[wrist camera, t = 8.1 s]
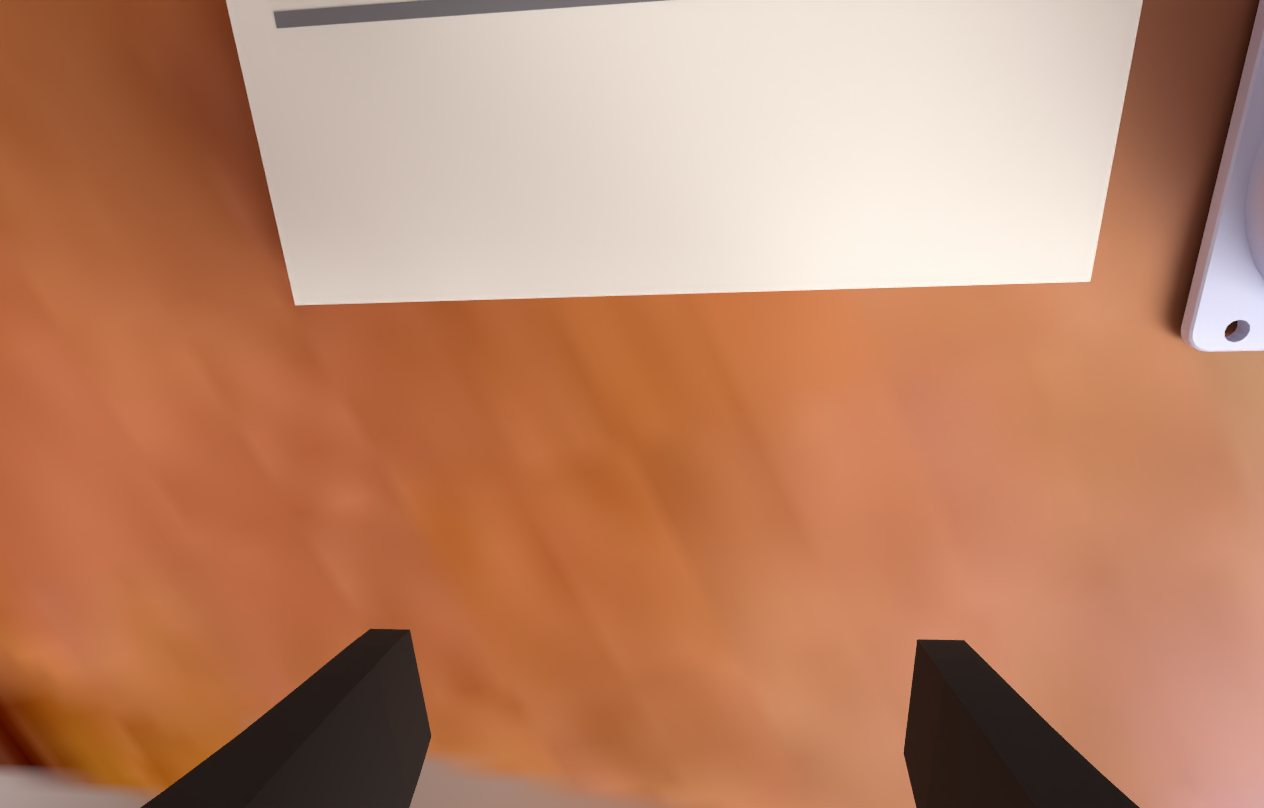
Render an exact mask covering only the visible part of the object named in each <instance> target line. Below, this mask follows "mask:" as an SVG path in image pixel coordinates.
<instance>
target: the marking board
mask: <svg viewBox="0 0 1264 808" xmlns="http://www.w3.org/2000/svg"><path fill="white" fill-rule="evenodd" d="M226 3H227V8H228V12H229V17H230V21H231V25H232V30H233V34H234V39H235V43H236V47H237V52H238V56H239V61H240V65H241V69H242V74H243V78H244V83H245V87H246V91H247V96H248V100H249V105H250V109H251V113H252V118H253V122H254V127H255V131H256V135H257V140H258V144H259V149H260V153H261V157H262V162H263V166H264V171H265V175H266V179H267V184H268V188H269V193H270V197H271V201H272V206H273V210H274V215H275V219H276V223H277V228H278V232H279V236H280V241H281V245H282V250H283V254H284V258H285V263H286V267H287V272H288V276H289V280H290V285H291V289H292V294H293V298H294V302H295V305H322V304H356V303H389V302H423V301H456V300H490V299H523V298H557V297H590V296H624V295H657V294H691V293H725V292H758V291H792V290H825V289H859V288H892V287H926V286H959V285H993V284H1026V283H1060V282H1090V280H1091V275H1092V269H1093V264H1094V259H1095V253H1096V248H1097V243H1098V237H1099V232H1100V227H1101V221H1102V216H1103V211H1104V205H1105V200H1106V195H1107V189H1108V184H1109V179H1110V173H1111V168H1112V163H1113V157H1114V152H1115V147H1116V141H1117V136H1118V131H1119V125H1120V120H1121V115H1122V109H1123V104H1124V99H1125V93H1126V88H1127V83H1128V77H1129V72H1130V67H1131V61H1132V56H1133V51H1134V45H1135V40H1136V35H1137V29H1138V24H1139V19H1140V13H1141V8H1142V3H1143V0H226Z"/></svg>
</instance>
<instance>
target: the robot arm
mask: <svg viewBox="0 0 1264 808" xmlns="http://www.w3.org/2000/svg"><path fill="white" fill-rule="evenodd" d="M1233 321H1237V328H1236V330H1235V332H1233V333H1232V334H1231V335H1229V336H1227V337H1225V330H1226V328H1227V326H1228V325H1229V324H1231V323H1232V322H1233ZM1181 337H1182V339H1183V341H1184V343H1186V344H1187V345H1189V346H1190V347H1192V348H1195V349H1197V350H1200V351H1206V352H1216V351H1264V0H1260V2H1259V6H1258V10H1257V14H1256V18H1255V23H1254V27H1253V31H1252V35H1251V39H1250V43H1249V48H1248V52H1247V56H1246V60H1245V64H1244V68H1243V72H1242V77H1241V81H1240V85H1239V89H1238V93H1237V97H1236V102H1235V106H1234V110H1233V114H1232V118H1231V122H1230V127H1229V131H1228V135H1227V139H1226V143H1225V147H1224V151H1223V156H1222V160H1221V164H1220V168H1219V172H1218V176H1217V181H1216V185H1215V189H1214V193H1213V197H1212V201H1211V206H1210V210H1209V214H1208V218H1207V222H1206V226H1205V230H1204V235H1203V239H1202V243H1201V247H1200V251H1199V255H1198V260H1197V264H1196V268H1195V272H1194V276H1193V280H1192V285H1191V289H1190V293H1189V297H1188V301H1187V305H1186V309H1185V314H1184V318H1183V322H1182V326H1181ZM430 739H431V732H430V727H429V722H428V717H427V712H426V708H425V703H424V698H423V693H422V688H421V683H420V678H419V673H418V668H417V663H416V658H415V653H414V648H413V643H412V638H411V633H410V630H395V629H370V630H368V631H367V632H366V633H364V634H363V635H362V636H360V637H359V638H358V639H357V640H355V641H354V642H353V643H351V644H350V645H349V646H348V647H346V648H345V649H344V650H343V651H341V652H340V653H339V654H338V655H337V656H335V657H334V658H333V659H332V660H330V661H329V662H328V663H327V664H326V665H324V666H323V667H322V668H321V669H319V670H318V671H317V672H316V673H315V674H313V675H312V676H311V677H310V678H309V679H307V680H306V681H305V682H304V683H302V684H301V685H300V686H299V687H298V688H296V689H295V690H294V691H293V692H291V693H290V694H289V695H288V696H286V697H285V698H284V699H283V700H282V701H280V702H279V703H278V704H277V705H275V706H274V707H273V708H272V709H270V710H269V711H268V712H267V713H265V714H264V715H263V716H262V717H260V718H259V719H258V720H257V721H255V722H254V723H253V724H252V725H250V726H249V727H248V728H247V729H246V730H244V731H243V732H242V733H240V734H239V735H238V736H237V737H235V738H234V739H233V740H231V741H230V742H229V743H227V744H226V745H225V746H223V747H222V748H221V749H219V750H218V751H217V752H215V753H214V754H213V755H211V756H210V757H209V758H207V759H206V760H205V761H203V762H202V763H201V764H199V765H198V766H197V767H195V768H194V769H193V770H191V771H190V772H189V773H187V774H186V775H185V776H183V777H182V778H181V779H179V780H178V781H177V782H175V783H174V784H173V785H171V786H170V787H169V788H167V789H166V790H165V791H163V792H162V793H161V794H159V795H158V796H156V797H155V798H153V799H152V800H151V801H149V802H148V803H146V804H145V805H144V806H142V807H141V808H409V807H410V803H411V800H412V797H413V794H414V791H415V788H416V785H417V782H418V779H419V776H420V773H421V769H422V766H423V762H424V759H425V756H426V752H427V749H428V746H429V742H430ZM904 756H905V760H906V765H907V769H908V773H909V778H910V782H911V786H912V791H913V795H914V799H915V803H916V807H917V808H1139V807H1138V806H1137V805H1136V804H1135V803H1134V802H1132V801H1131V800H1130V799H1129V798H1128V797H1127V796H1126V795H1125V794H1123V793H1122V792H1121V791H1120V790H1119V789H1118V788H1117V787H1116V786H1115V785H1113V784H1112V783H1111V782H1110V781H1109V780H1108V779H1107V778H1106V777H1104V776H1103V775H1102V774H1101V773H1100V772H1099V771H1098V770H1097V769H1096V768H1095V767H1094V766H1093V765H1092V764H1091V763H1089V762H1088V761H1087V760H1086V759H1085V758H1084V757H1083V756H1082V755H1081V754H1080V753H1079V752H1078V751H1077V750H1075V749H1074V748H1073V747H1072V746H1071V745H1070V744H1069V743H1068V742H1067V741H1066V740H1065V739H1064V738H1063V737H1062V736H1061V735H1060V734H1059V733H1058V732H1056V731H1055V730H1054V729H1053V728H1052V727H1051V726H1050V725H1049V724H1048V723H1047V722H1046V721H1045V720H1044V719H1043V718H1042V717H1041V716H1040V715H1039V714H1038V713H1037V712H1036V711H1035V710H1034V709H1033V708H1032V707H1031V706H1030V705H1029V704H1028V703H1027V702H1026V701H1025V700H1024V699H1023V698H1022V697H1021V696H1020V695H1019V694H1018V693H1017V692H1016V691H1015V690H1014V689H1013V688H1012V687H1011V686H1010V685H1009V684H1008V683H1007V682H1006V681H1005V680H1004V679H1003V678H1002V677H1001V676H1000V675H999V674H998V673H997V672H996V671H995V670H993V669H992V668H991V667H990V666H989V665H988V664H987V663H986V662H985V661H984V660H983V659H982V658H981V657H980V656H979V655H978V654H977V653H976V652H975V651H974V650H973V649H972V648H971V647H970V646H969V645H968V644H967V643H966V642H965V641H964V640H917V647H916V655H915V664H914V672H913V680H912V688H911V697H910V705H909V713H908V722H907V730H906V738H905V747H904Z"/></svg>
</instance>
